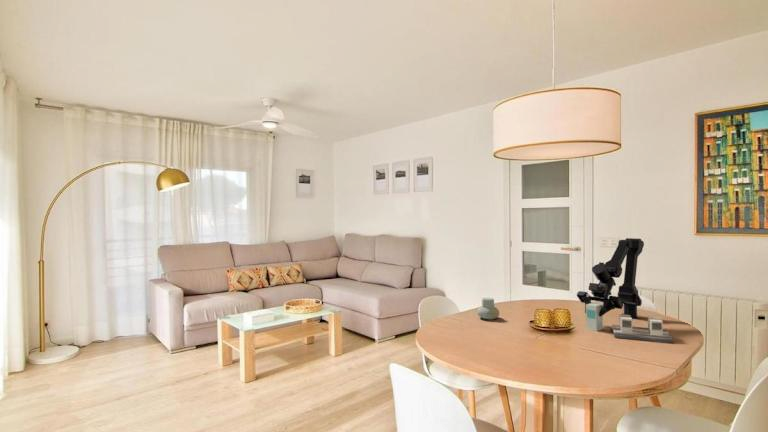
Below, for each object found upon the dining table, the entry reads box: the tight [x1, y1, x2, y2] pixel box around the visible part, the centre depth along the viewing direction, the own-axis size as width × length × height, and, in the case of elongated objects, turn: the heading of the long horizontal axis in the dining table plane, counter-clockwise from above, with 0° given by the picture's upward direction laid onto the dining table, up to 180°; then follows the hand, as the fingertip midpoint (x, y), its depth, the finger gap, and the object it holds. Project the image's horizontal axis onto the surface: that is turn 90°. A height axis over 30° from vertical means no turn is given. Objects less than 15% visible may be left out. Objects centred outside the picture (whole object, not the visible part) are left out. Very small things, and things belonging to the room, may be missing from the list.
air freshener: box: [476, 297, 500, 321], centre depth 201 cm, size 11×8×10 cm
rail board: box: [611, 313, 674, 344], centre depth 167 cm, size 14×20×8 cm
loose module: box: [585, 302, 604, 332], centre depth 179 cm, size 6×4×11 cm
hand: (592, 314), depth 178 cm, fingers open, 6 cm apart
